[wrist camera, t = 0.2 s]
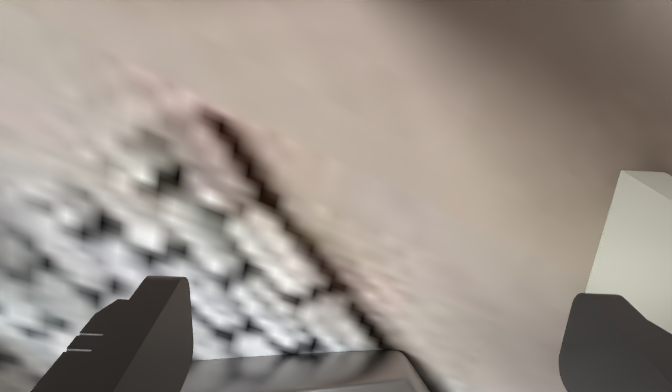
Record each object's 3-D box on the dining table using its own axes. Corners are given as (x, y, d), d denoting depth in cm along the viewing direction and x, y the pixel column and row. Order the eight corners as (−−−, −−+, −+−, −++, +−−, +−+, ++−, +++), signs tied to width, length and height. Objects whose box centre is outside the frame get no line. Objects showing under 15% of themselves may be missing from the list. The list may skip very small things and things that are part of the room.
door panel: (620, 170, 27) (746, 245, 19) (668, 172, 27) (815, 248, 19) (571, 338, 32) (654, 459, 23) (612, 339, 32) (710, 461, 23)
